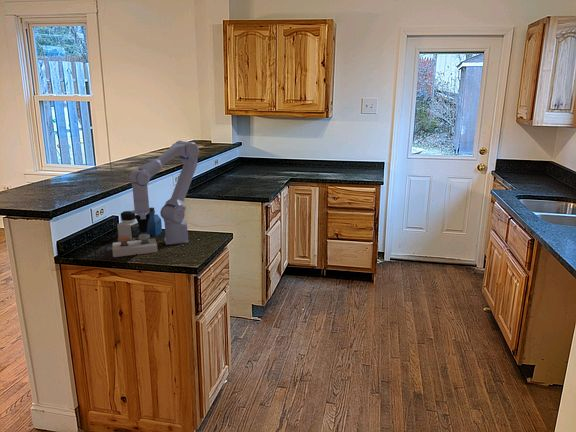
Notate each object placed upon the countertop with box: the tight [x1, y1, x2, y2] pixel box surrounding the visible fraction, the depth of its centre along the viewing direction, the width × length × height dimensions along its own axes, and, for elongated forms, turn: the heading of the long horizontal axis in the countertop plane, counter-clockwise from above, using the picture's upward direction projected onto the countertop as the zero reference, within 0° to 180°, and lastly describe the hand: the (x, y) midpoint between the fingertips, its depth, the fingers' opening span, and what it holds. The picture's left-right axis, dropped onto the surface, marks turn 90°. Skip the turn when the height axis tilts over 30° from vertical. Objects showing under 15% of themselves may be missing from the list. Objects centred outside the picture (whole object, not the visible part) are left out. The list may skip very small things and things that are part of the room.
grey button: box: [138, 233, 151, 244], centre depth 188 cm, size 4×4×4 cm
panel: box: [111, 237, 158, 258], centre depth 188 cm, size 17×10×3 cm, turn 110°
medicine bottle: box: [116, 210, 142, 241], centre depth 204 cm, size 7×7×12 cm
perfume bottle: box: [142, 207, 163, 237], centre depth 210 cm, size 6×6×12 cm
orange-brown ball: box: [117, 236, 131, 247], centre depth 186 cm, size 4×4×4 cm
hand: (143, 232), depth 187 cm, fingers closed
